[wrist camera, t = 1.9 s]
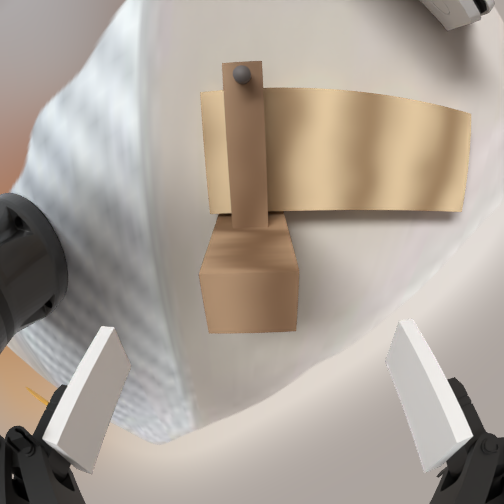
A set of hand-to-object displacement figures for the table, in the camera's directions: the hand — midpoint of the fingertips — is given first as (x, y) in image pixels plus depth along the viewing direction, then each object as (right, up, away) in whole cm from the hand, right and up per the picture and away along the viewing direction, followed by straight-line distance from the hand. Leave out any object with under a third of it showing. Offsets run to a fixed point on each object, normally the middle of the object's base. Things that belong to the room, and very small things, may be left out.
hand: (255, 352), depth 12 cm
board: (+8, +13, +8) cm, 17 cm away
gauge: (0, +11, +9) cm, 14 cm away
